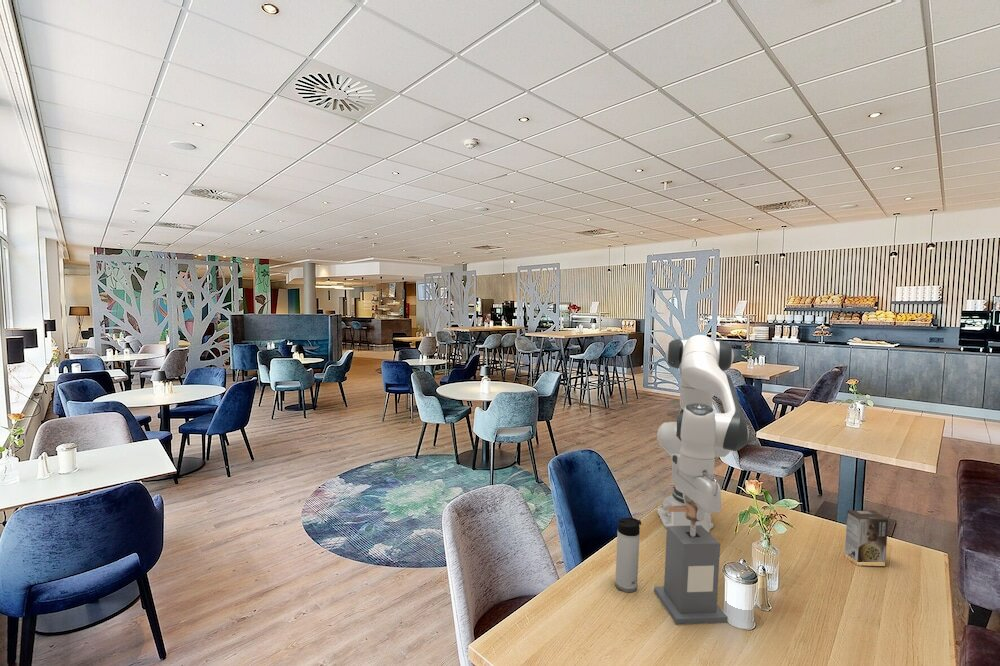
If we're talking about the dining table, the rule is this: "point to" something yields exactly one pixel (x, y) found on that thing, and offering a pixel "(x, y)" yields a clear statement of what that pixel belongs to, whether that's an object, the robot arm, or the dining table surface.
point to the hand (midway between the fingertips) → (693, 514)
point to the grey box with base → (691, 577)
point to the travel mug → (627, 554)
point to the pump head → (687, 514)
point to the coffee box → (866, 536)
